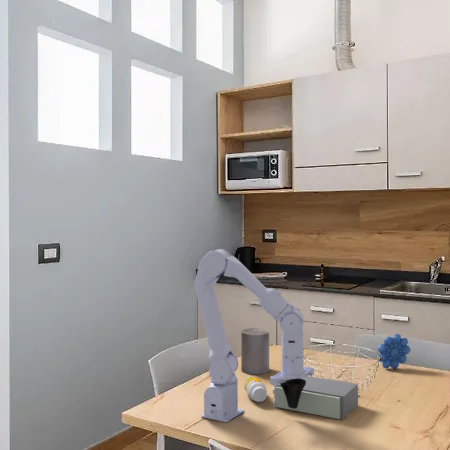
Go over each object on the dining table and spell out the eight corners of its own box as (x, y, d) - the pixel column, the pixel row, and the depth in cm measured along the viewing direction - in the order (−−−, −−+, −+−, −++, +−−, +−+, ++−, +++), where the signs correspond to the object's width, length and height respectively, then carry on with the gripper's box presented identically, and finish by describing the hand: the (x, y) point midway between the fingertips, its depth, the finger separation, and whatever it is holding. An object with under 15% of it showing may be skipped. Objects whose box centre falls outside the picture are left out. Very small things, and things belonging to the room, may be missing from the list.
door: (272, 406, 149) (272, 386, 148) (273, 405, 149) (273, 385, 149) (339, 419, 139) (339, 398, 139) (340, 417, 139) (340, 397, 139)
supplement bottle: (264, 385, 161) (273, 395, 152) (251, 397, 160) (258, 408, 151) (253, 371, 160) (261, 381, 151) (240, 383, 160) (246, 394, 150)
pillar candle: (237, 367, 188) (237, 325, 187) (263, 365, 191) (263, 323, 190) (247, 376, 179) (246, 331, 178) (274, 373, 181) (273, 329, 181)
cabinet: (343, 419, 139) (343, 396, 139) (274, 405, 150) (274, 384, 150) (358, 405, 149) (357, 383, 149) (292, 393, 160) (292, 373, 160)
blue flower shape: (405, 364, 190) (404, 331, 189) (413, 370, 183) (413, 335, 183) (373, 365, 189) (372, 331, 189) (379, 371, 182) (379, 336, 182)
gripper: (283, 363, 133) (284, 418, 133) (322, 353, 142) (322, 405, 142) (264, 358, 138) (264, 410, 138) (302, 349, 147) (303, 398, 147)
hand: (292, 407), depth 140 cm, fingers closed
